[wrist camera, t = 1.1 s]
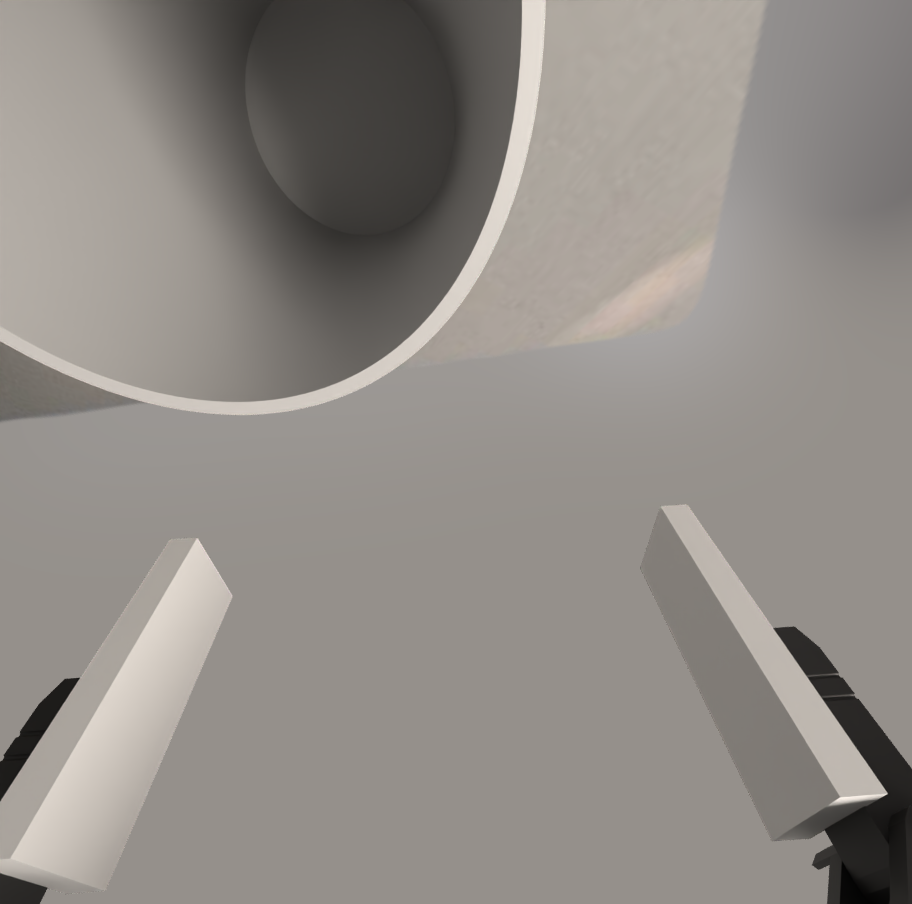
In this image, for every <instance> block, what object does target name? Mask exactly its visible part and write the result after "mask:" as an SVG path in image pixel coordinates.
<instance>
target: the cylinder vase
mask: <svg viewBox="0 0 912 904" xmlns="http://www.w3.org/2000/svg"><path fill="white" fill-rule="evenodd" d="M544 28H545V0H0V341H1V342H3V343H5V344H6V345H8V346H10V347H12V348H13V349H15V350H17V351H19V352H21V353H23V354H25V355H27V356H28V357H30V358H32V359H34V360H36V361H38V362H40V363H42V364H44V365H46V366H49V367H51V368H53V369H55V370H57V371H59V372H61V373H64V374H66V375H68V376H71V377H73V378H75V379H78V380H80V381H83V382H85V383H88V384H90V385H93V386H96V387H98V388H101V389H104V390H107V391H110V392H113V393H116V394H119V395H122V396H125V397H128V398H132V399H135V400H139V401H143V402H146V403H151V404H155V405H159V406H164V407H168V408H173V409H179V410H185V411H192V412H200V413H211V414H223V415H224V414H225V415H254V414H255V415H256V414H269V413H278V412H286V411H292V410H297V409H302V408H307V407H310V406H315V405H318V404H322V403H325V402H328V401H331V400H334V399H337V398H340V397H342V396H345V395H347V394H350V393H352V392H354V391H356V390H359V389H361V388H363V387H365V386H367V385H369V384H370V383H372V382H374V381H376V380H378V379H379V378H381V377H383V376H384V375H386V374H387V373H389V372H391V371H392V370H393V369H395V368H396V367H398V366H399V365H401V364H402V363H403V362H405V361H406V360H407V359H408V358H410V357H411V356H412V355H413V354H414V353H416V352H417V351H418V350H419V349H420V348H421V347H422V346H424V345H425V344H426V343H427V342H428V341H429V340H430V339H431V338H432V337H433V336H434V335H435V334H436V333H437V332H438V331H439V329H440V328H441V327H442V326H443V325H444V324H445V323H446V322H447V320H448V319H449V318H450V317H451V316H452V314H453V313H454V312H455V311H456V309H457V308H458V307H459V305H460V304H461V303H462V301H463V300H464V298H465V297H466V296H467V294H468V293H469V291H470V290H471V288H472V286H473V285H474V283H475V282H476V280H477V279H478V277H479V275H480V273H481V272H482V270H483V268H484V266H485V265H486V263H487V261H488V259H489V257H490V255H491V253H492V251H493V249H494V247H495V245H496V243H497V241H498V238H499V236H500V234H501V231H502V229H503V227H504V224H505V222H506V219H507V217H508V214H509V212H510V209H511V206H512V203H513V200H514V197H515V194H516V192H517V188H518V185H519V182H520V178H521V175H522V171H523V168H524V164H525V160H526V156H527V152H528V148H529V143H530V139H531V134H532V129H533V124H534V118H535V113H536V106H537V100H538V93H539V85H540V77H541V69H542V57H543V46H544Z"/></svg>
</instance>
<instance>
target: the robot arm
mask: <svg viewBox="0 0 912 904" xmlns="http://www.w3.org/2000/svg"><path fill="white" fill-rule="evenodd" d="M640 569H641V571H642V573H643V575H644V577H645V579H646V581H647V584H648V586H649V588H650V590H651V592H652V594H653V596H654V598H655V600H656V602H657V604H658V606H659V608H660V610H661V613H662V615H663V617H664V619H665V621H666V623H667V625H668V627H669V629H670V631H671V633H672V635H673V637H674V639H675V642H676V644H677V646H678V648H679V650H680V652H681V654H682V656H683V658H684V660H685V662H686V664H687V666H688V668H689V670H690V673H691V675H692V677H693V679H694V681H695V683H696V685H697V687H698V689H699V691H700V693H701V695H702V698H703V700H704V702H705V704H706V706H707V708H708V710H709V712H710V714H711V716H712V718H713V720H714V722H715V724H716V726H717V729H718V731H719V733H720V735H721V737H722V739H723V741H724V743H725V745H726V747H727V749H728V751H729V753H730V755H731V758H732V760H733V762H734V764H735V766H736V768H737V770H738V772H739V774H740V776H741V778H742V780H743V782H744V785H745V787H746V788H747V791H748V793H749V795H750V797H751V799H752V801H753V803H754V805H755V807H756V809H757V811H758V813H759V816H760V817H761V820H762V822H763V824H764V826H765V828H766V830H767V832H768V834H769V836H770V838H771V840H772V841H782V840H795V839H809V838H812V837H814V836H815V835H817V834H819V833H821V832H822V831H824V830H825V831H826V833H827V835H828V837H829V839H830V840H831V842H832V844H833V845H832V846H830V847H828V848H826V849H824V850H823V851H821V852H819V853H817V854H816V855H815V858H814V861H813V864H812V865H813V866H814V867H816V868H817V869H822V868H824V867H826V866H828V865H830V868H829V884H828V901H827V904H912V769H911V767H910V766H909V765H908V763H907V762H906V761H905V759H904V758H903V757H902V755H901V754H900V753H899V752H898V750H897V749H896V748H895V746H894V745H893V744H892V742H891V741H890V740H889V739H888V737H887V736H886V735H885V733H884V732H883V730H882V729H881V728H880V726H879V725H878V724H877V722H876V721H875V720H874V719H873V717H872V716H871V715H870V713H869V712H868V711H867V709H866V708H865V707H864V705H863V704H862V703H861V701H860V700H859V699H856V698H855V696H854V692H853V691H852V690H851V688H850V687H849V686H848V684H847V683H846V682H845V680H844V679H843V678H841V677H840V676H839V675H838V671H837V670H836V668H835V667H834V666H833V664H832V663H831V662H830V661H829V659H828V658H827V657H826V655H825V654H824V653H823V651H822V650H821V649H820V647H818V646H817V645H816V644H815V643H814V642H812V641H811V640H810V639H809V638H808V637H806V636H805V635H804V634H803V633H802V632H800V631H799V630H798V629H797V628H796V627H782V628H773V627H772V626H771V625H770V623H769V622H768V620H767V619H766V617H765V616H764V615H763V613H762V612H761V610H760V609H759V607H758V606H757V604H756V603H755V602H754V600H753V599H752V597H751V596H750V594H749V593H748V591H747V590H746V588H745V587H744V586H743V584H742V583H741V581H740V580H739V578H738V577H737V575H736V574H735V573H734V571H733V570H732V568H731V567H730V565H729V564H728V563H727V561H726V560H725V558H724V557H723V555H722V554H721V553H720V551H719V550H718V548H717V547H716V545H715V544H714V542H713V541H712V539H711V538H710V537H709V535H708V534H707V532H706V531H705V529H704V528H703V526H702V525H701V524H700V522H699V521H698V519H697V518H696V517H695V515H694V514H693V512H692V511H691V509H690V508H689V506H688V505H672V506H661V507H660V509H659V512H658V515H657V518H656V521H655V524H654V527H653V530H652V533H651V537H650V539H649V542H648V546H647V548H646V552H645V555H644V558H643V561H642V564H641V567H640ZM231 599H232V594H231V593H230V591H229V589H228V588H227V586H226V585H225V583H224V581H223V579H222V578H221V576H220V574H219V573H218V571H217V570H216V568H215V566H214V565H213V563H212V561H211V560H210V558H209V556H208V555H207V553H206V551H205V550H204V548H203V546H202V545H201V543H200V542H199V540H198V538H184V539H170V540H169V542H168V543H167V545H166V546H165V548H164V550H163V551H162V553H161V554H160V556H159V557H158V559H157V560H156V562H155V564H154V565H153V567H152V568H151V570H150V571H149V573H148V574H147V576H146V577H145V579H144V580H143V582H142V583H141V585H140V587H139V588H138V590H137V591H136V593H135V594H134V596H133V597H132V599H131V600H130V602H129V604H128V605H127V607H126V608H125V610H124V611H123V613H122V614H121V616H120V617H119V619H118V621H117V622H116V624H115V625H114V627H113V628H112V630H111V631H110V633H109V635H108V636H107V637H106V639H105V641H104V642H103V644H102V645H101V647H100V648H99V650H98V652H97V653H96V654H95V656H94V658H93V659H92V661H91V662H90V664H89V665H88V667H87V668H86V670H85V672H84V673H83V675H82V676H81V678H71V679H64V680H63V681H62V682H61V683H60V684H59V685H58V686H57V687H56V688H55V689H54V690H53V691H52V692H51V693H50V694H49V695H48V696H47V697H46V698H45V699H44V700H43V701H42V702H41V703H40V704H39V705H38V706H37V708H36V709H35V711H34V712H33V714H32V715H31V716H30V718H29V719H28V721H27V722H26V724H25V725H24V727H23V728H22V730H21V731H20V736H19V737H17V738H15V740H14V741H13V743H12V744H11V745H10V747H9V749H8V750H7V751H6V753H5V754H4V759H3V760H2V761H1V762H0V904H40V902H41V900H42V898H43V896H44V894H45V892H46V890H47V888H48V889H51V890H55V891H58V892H61V893H65V894H72V893H85V892H99V891H106V888H107V886H108V884H109V881H110V879H111V877H112V874H113V872H114V870H115V867H116V865H117V863H118V861H119V858H120V856H121V853H122V851H123V849H124V847H125V844H126V842H127V840H128V837H129V835H130V833H131V830H132V828H133V826H134V823H135V821H136V819H137V817H138V814H139V812H140V810H141V807H142V805H143V803H144V800H145V798H146V796H147V793H148V791H149V788H150V786H151V784H152V782H153V779H154V777H155V775H156V772H157V770H158V768H159V766H160V763H161V761H162V759H163V756H164V754H165V752H166V749H167V747H168V745H169V742H170V740H171V738H172V735H173V733H174V731H175V728H176V726H177V724H178V722H179V719H180V717H181V715H182V712H183V710H184V708H185V705H186V703H187V701H188V698H189V696H190V694H191V692H192V689H193V687H194V685H195V682H196V680H197V678H198V675H199V673H200V671H201V668H202V666H203V664H204V661H205V659H206V657H207V654H208V652H209V650H210V647H211V645H212V643H213V641H214V638H215V636H216V634H217V631H218V629H219V627H220V624H221V622H222V620H223V617H224V615H225V613H226V610H227V608H228V606H229V603H230V601H231Z"/></svg>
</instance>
